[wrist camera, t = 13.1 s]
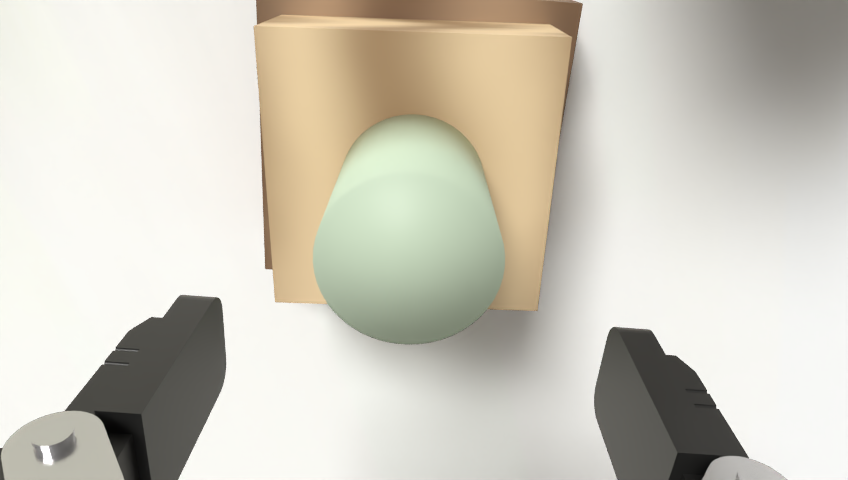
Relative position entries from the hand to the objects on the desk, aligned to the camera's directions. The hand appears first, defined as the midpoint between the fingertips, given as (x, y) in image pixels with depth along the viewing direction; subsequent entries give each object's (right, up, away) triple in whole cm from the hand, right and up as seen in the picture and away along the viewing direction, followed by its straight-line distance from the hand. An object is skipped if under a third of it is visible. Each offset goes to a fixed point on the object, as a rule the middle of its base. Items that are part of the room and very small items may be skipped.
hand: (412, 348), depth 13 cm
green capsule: (0, +4, +9) cm, 10 cm away
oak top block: (0, +6, +12) cm, 14 cm away
